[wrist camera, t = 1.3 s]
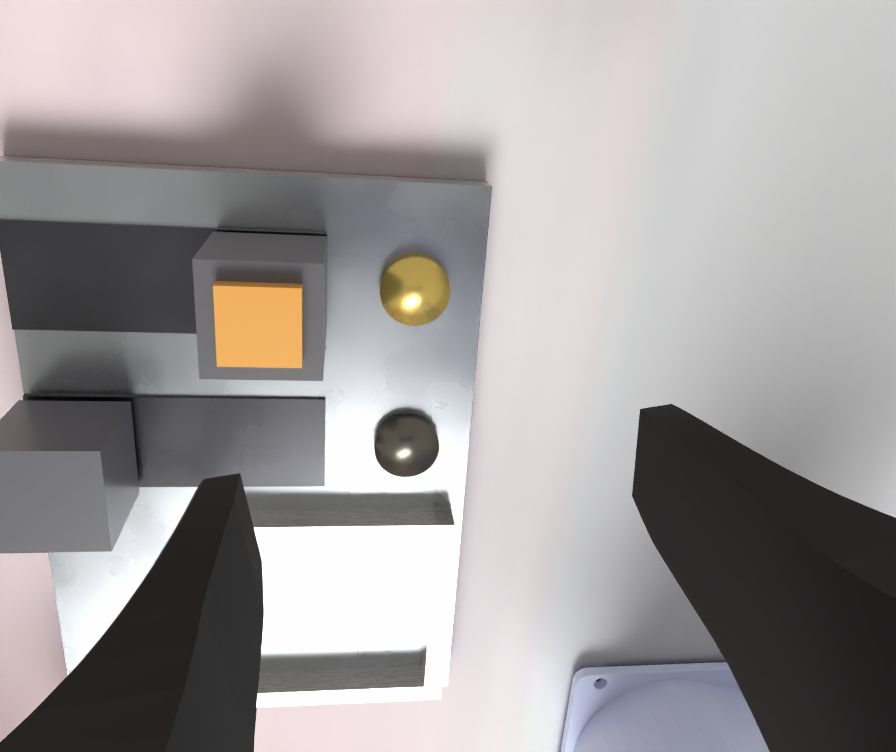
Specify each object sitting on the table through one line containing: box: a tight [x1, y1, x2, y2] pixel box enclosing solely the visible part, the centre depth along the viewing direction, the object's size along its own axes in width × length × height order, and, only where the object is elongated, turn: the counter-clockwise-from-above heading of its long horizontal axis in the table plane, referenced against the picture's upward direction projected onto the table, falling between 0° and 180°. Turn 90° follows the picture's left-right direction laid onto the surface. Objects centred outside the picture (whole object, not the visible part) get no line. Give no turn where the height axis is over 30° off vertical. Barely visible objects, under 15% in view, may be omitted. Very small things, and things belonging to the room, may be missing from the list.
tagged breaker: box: [192, 232, 327, 381], centre depth 20 cm, size 3×3×3 cm
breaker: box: [0, 400, 139, 553], centre depth 21 cm, size 3×3×3 cm
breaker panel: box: [0, 156, 492, 707], centre depth 24 cm, size 13×18×2 cm
